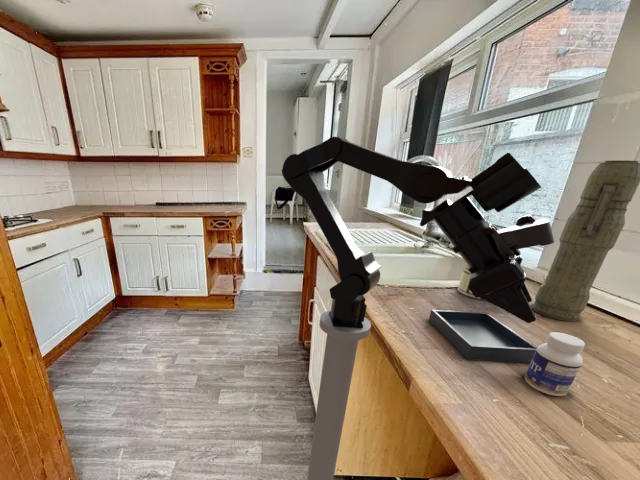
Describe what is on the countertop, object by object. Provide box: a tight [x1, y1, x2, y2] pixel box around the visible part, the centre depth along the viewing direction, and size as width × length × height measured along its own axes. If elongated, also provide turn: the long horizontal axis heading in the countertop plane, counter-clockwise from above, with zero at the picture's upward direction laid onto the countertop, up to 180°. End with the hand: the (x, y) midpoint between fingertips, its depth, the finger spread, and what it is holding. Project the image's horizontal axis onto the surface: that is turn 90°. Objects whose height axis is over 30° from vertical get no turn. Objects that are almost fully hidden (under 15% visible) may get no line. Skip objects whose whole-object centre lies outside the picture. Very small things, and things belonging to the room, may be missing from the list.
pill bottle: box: [524, 331, 586, 397], centre depth 48 cm, size 5×5×9 cm
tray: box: [428, 309, 538, 364], centre depth 62 cm, size 12×15×3 cm
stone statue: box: [531, 160, 640, 322], centre depth 70 cm, size 9×12×35 cm
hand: (530, 311), depth 48 cm, fingers open, 9 cm apart
